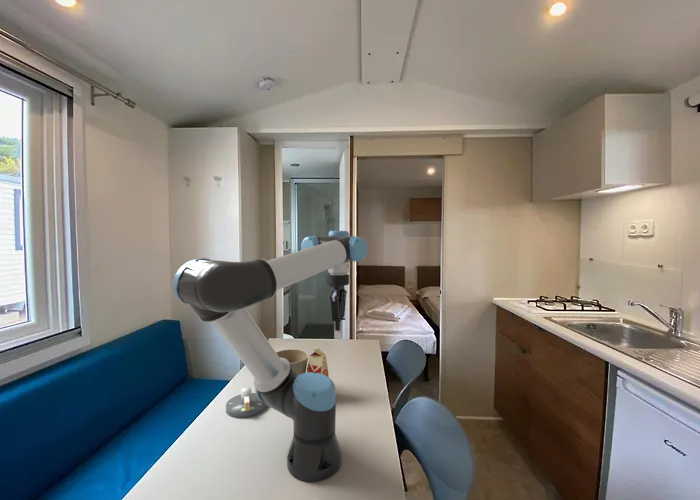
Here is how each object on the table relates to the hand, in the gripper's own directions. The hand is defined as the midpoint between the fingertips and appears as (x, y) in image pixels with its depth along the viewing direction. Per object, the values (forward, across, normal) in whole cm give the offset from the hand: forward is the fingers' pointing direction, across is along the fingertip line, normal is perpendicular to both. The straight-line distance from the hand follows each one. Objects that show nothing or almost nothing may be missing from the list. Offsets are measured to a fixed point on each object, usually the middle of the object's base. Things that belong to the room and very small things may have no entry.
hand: (338, 338), depth 118 cm
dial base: (+26, -8, +33) cm, 43 cm away
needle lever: (+24, -10, +31) cm, 41 cm away
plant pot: (+27, +5, +22) cm, 35 cm away
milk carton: (+27, +7, +11) cm, 30 cm away
